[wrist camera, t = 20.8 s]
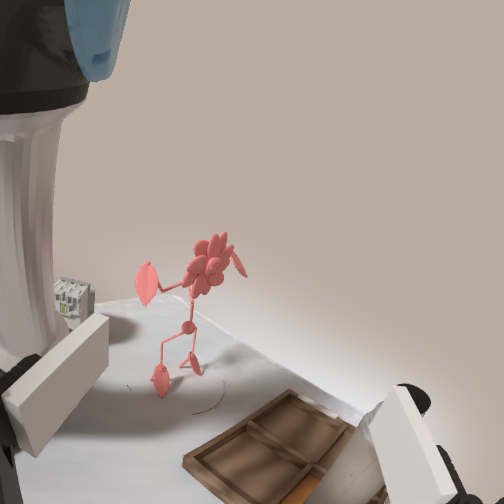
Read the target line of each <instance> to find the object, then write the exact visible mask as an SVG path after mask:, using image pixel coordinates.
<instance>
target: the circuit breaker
mask: <svg viewBox="0 0 504 504" xmlns="http://www.w3.org/2000/svg"><path fill="white" fill-rule="evenodd" d="M65 281H67V282H65ZM74 283H75V284H74ZM83 285H84V286H83ZM54 296H55V307H56V310H57V311H58V312H59V313H60V314H61V315H62V316H63V318H64V319H65V321H66V323H67V325H68V328H72V329H73V330H75V329H76V328H77V327H78V326H79V325H80V324H82V323H83V322H84V321H85V320H86V319H88V318H89V317H90V316H91V315H92V314H93V313H94V300H95V298H94V297H95V291H94V290H90V283H86V282H82V281H76V280H73V279H68V278H64V277H61V278H60V279H59V280H58V281H57V282H56V283H55V284H54Z"/></svg>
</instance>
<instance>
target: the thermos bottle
mask: <svg viewBox="0 0 504 504" xmlns="http://www.w3.org/2000/svg"><path fill="white" fill-rule="evenodd" d="M396 386H404V387H406V388H407V390H408V392H409V393H410V395H411V397H412V399H413V401H414V403H415V405H416V407H417V409H418V411H419V413H420V414H421V416H422V418H423V416H424V415H425V412H426V411H427V410H428V409H429V407H430V405H431V400H430V398H429V396H428V395H427V394H426V393H425V392H424V391H423V390H421V389H420V388H418V387H416V386H414V385H410V384H398V385H396ZM383 402H384V401H382V402H380V403H379V404H378V405H377V406H376V408H375V409H374V410H372V411H371V412H369V413H367V414H366V415H365V416H364V417H363V419H362V420H361V422H360V423H359V425H358V427H357V428H356V430H355V431H354V433H353V435H352V436H351V438H350V439H349V441H348V442H347V444H346V445H345V447H344V448H343V450H342V451H341V453H340V454H339V456H338V457H337V459H336V460H335V461H334V463H333V464H332V466H331V467H330V468H329V470H328V471H327V473H326V474H325V475H324V477H323V478H322V480H321V481H320V482H319V484H318V485H317V486H316V487H315V489H314V490H313V491H312V492H311V494H310V495H309V496H308V497H307V499H306V500H305V501H304V502H303V504H367V503H368V501H369V500H370V499H371V498H372V497H373V496H374V495H375V494H376V493H377V492H378V491H379V490H380V489H381V488H382V487H383V486H384V485H385V481H384V477H383V474H382V470H381V467H380V463H379V460H378V456H377V453H376V450H375V446H374V443H373V440H372V436H371V433H370V430H369V427H368V426H369V425H370V423H371V422H372V420H373V418H374V417H375V415H376V413H377V412H378V410H379V408H380V407H381V405H382V403H383Z"/></svg>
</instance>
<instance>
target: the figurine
mask: <svg viewBox="0 0 504 504" xmlns="http://www.w3.org/2000/svg"><path fill="white" fill-rule="evenodd" d="M226 243H227V233H226V232H223V233H222V234H221V235H220V236H218V235H217V234H213V235H212V236H211V239H210V242H208V241H205V240H199V241H198V242H196V243H195V245H194V252H195V256H196V258H194V259H193V260H192V261H191V262H190V263H189V264H188V266H187V273H186V274H185V276H184V278H183V280H182V282H180V283H177V284H175V285H173V286H170V287H168V288H166V289H162V287H161V285H160V283H159V281H158V276H157V273H156V270H155V268H154V267H153V266H152V265H151V264H150V262H149V261H146V263H145V265H143V266H141V268H140V269H139V271H138V273H137V275H136V280H135V286H136V292H137V294H138V296H139V298H140V300H141V302H142V303H143V304H144V306H146V305H147V304H148V303H149V302H150V301H151V299H152V298H153V297H154V296H155V294H156V291H157V287H158V288H159V289H160V291H161V293H164V292H166V291H168V290H170V289H173V288H175V287H177V286H179V285H182V287H184V288H185V287H188V291H189V296H190V300H191V314H190V321H186V322H184V323H183V324H182V331H183V332H182V333H179V334H177V335H175V336H173V337H171V338H169V339H167V340H164V341H162V343H161V363H160V364H159V365H157V366H156V367H155V370H154V374H153V376H152V377H151V378H150V381H152V380H153V382H154V386H155V389H156V390H157V392H159V394H160V396H161V397H162V398H163V397H164V396H165V394H166V392H167V390H168V388H169V381H170V380H169V373H168V371H167V369H166V367H165V366H164V365H163V364H162V357H163V343H164V342H167V341H169V340H171V339H173V338H175V337H177V336H179V335H182V334H184V333H185V334H192V333H193V332H194V331H195V333H194V341H193V349H192V352H189V353H188V358H187V359H186V360H185V361H184V362H183V363H182V364H181V365H180V366H179V368H181V367H182V366H183V365H184V364H185V363H186V362H187V361H188V360H189V361H190V365H191V367H192V369H193V371H194V372H195V373H196V374H198V375H201V372H200V367H199V363H198V360H197V358H196V356H195V355H194V345H195V338H196V331H197V327H195V325H194V323H193V322H192V318H193V308H194V303H193V302H194V301H193V299H195V298H197V297H198V296H199V295H200V293H202V294H203V295H206V294H207V293H208V292H209V290H210V288H211V286H218V285H220V284H221V283H222V282H223V280H224V275H223V273H222V271H223V270H225V269H226V267H227V266H228V265H229V263H230V260H229V258H230V257H231V259H232V261H233V263H234V265H235V267H236V268H237V270H238V271H239V272H240V273H241V274H242V275H243V276H244V277H246V278H247V274H246V272H245V269H244V267H243V265H242V264H241V261H240V260H239V258H238V257H237V255H236V254H235V253H234V252H233V248H234V246H233V245H230V246H228V247H226ZM225 247H226V248H225ZM191 284H193V286H192V293H191V289H190V285H191ZM223 381H224V380H223ZM224 385H225V384H224ZM127 386H128V385H127ZM128 388H129V387H128ZM130 391H131V390H130ZM222 398H223V397H222ZM221 400H222V399H221ZM221 400H220V401H221ZM215 406H216V405H215ZM215 406H214V407H215ZM216 408H217V407H216ZM216 408H215V409H216ZM211 409H212V408H211ZM209 410H210V409H209ZM207 411H208V410H207ZM204 412H205V411H204ZM201 413H202V412H201ZM196 414H199V413H196ZM192 415H193V414H192Z"/></svg>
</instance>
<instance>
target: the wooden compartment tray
mask: <svg viewBox="0 0 504 504" xmlns="http://www.w3.org/2000/svg"><path fill="white" fill-rule="evenodd" d="M355 430H356V427H354V426H352V425H351V424H349V423H347V422H345V421H343V420H341V419H340V418H338V414H336V413H334V412H332V411H331V410H329V409H327V408H325V407H324V406H322V405H320V404H318V403H317V402H315V401H313V400H312V399H310V398H308V397H307V396H305V395H303V394H302V393H300V394H297V393H295V392H294V391H292V390H290V389H288V390H286V391H285V392H284V393H282V394H281V395H279V396H278V397H277V398H275V399H274V400H272V401H271V402H269V403H268V404H266V405H265V406H264V407H262V408H261V409H259V410H258V411H256V412H255V413H253V414H252V415H250V416H249V417H247V418H246V419H244V420H242V421H241V422H239V423H238V424H236V425H235V426H233V427H231V428H230V429H228V430H227V431H225V432H223V433H222V434H220V435H218V436H217V437H215V438H213V439H212V440H210V441H208V442H207V443H205V444H203V445H202V446H200V447H198V448H196V449H195V450H193V451H191V452H189V453H187V454H186V455H184V458H183V463H182V467H183V468H184V469H185V470H186V471H187V472H189V473H190V474H191V475H192V476H193V477H194V478H195V479H196V480H197V481H199V482H200V483H201V484H202V485H203V486H204V487H206V488H207V489H208V490H209V491H210V492H211V493H213V494H214V495H215V496H216V497H218V498H219V499H220V500H221V501H222V502H224V503H225V504H303V502H304V501H305V500H306V499H307V497H308V496H309V495H310V494H311V492H312V491H313V490H314V489H315V487H316V486H317V485H318V484H319V482H320V481H321V480H322V478H323V477H324V475H325V474H326V473H327V471H328V470H329V468H330V467H331V466H332V464H333V463H334V461H335V460H336V459H337V457H338V456H339V454H340V453H341V451H342V450H343V448H344V447H345V445H346V444H347V442H348V441H349V439H350V438H351V436H352V435H353V433H354V431H355ZM387 496H388V492H387V488H386V484H385V485H384V486H383V487H382V488H381V489H380V490H379V491H378V492H377V493H376V494H375V495H374V496H373V497H372V498H371V499H370V500H369V501H368V503H367V504H383V503H384V501H385V499H386V497H387Z"/></svg>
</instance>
